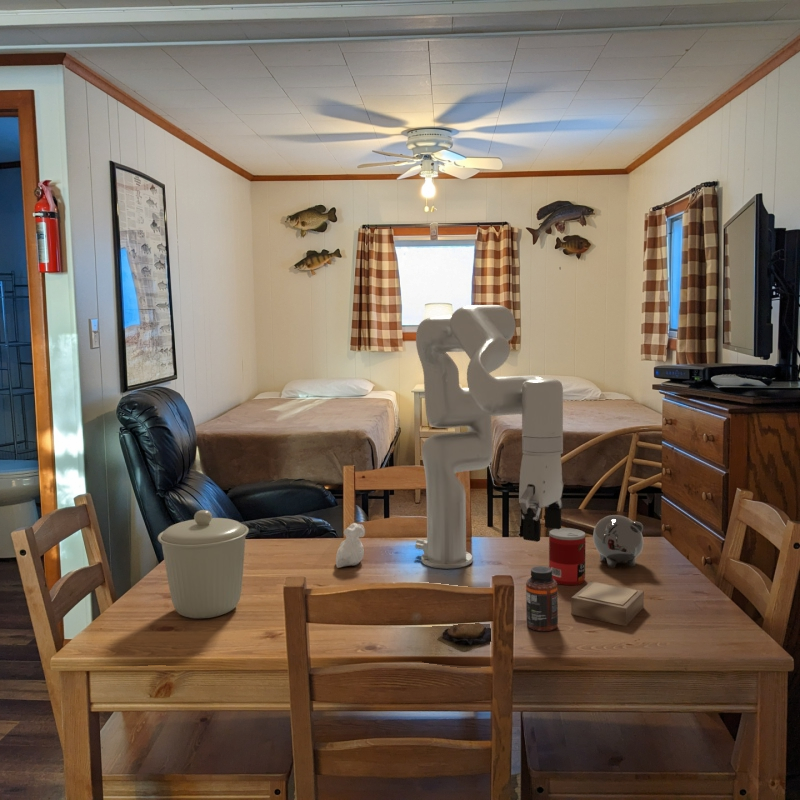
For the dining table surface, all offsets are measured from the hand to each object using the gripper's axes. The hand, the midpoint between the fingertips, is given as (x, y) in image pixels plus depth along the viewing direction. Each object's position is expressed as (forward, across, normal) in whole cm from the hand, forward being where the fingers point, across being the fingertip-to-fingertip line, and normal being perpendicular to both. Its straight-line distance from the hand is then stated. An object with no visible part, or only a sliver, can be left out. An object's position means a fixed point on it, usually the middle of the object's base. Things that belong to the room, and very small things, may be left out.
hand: (542, 534), depth 141 cm
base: (+18, -14, +8) cm, 24 cm away
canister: (+18, +29, -62) cm, 71 cm away
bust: (+18, -10, -55) cm, 59 cm away
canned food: (+18, -27, -6) cm, 33 cm away
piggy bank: (+18, -44, 0) cm, 48 cm away
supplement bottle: (+18, 0, 0) cm, 18 cm away
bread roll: (+19, +12, -9) cm, 24 cm away
